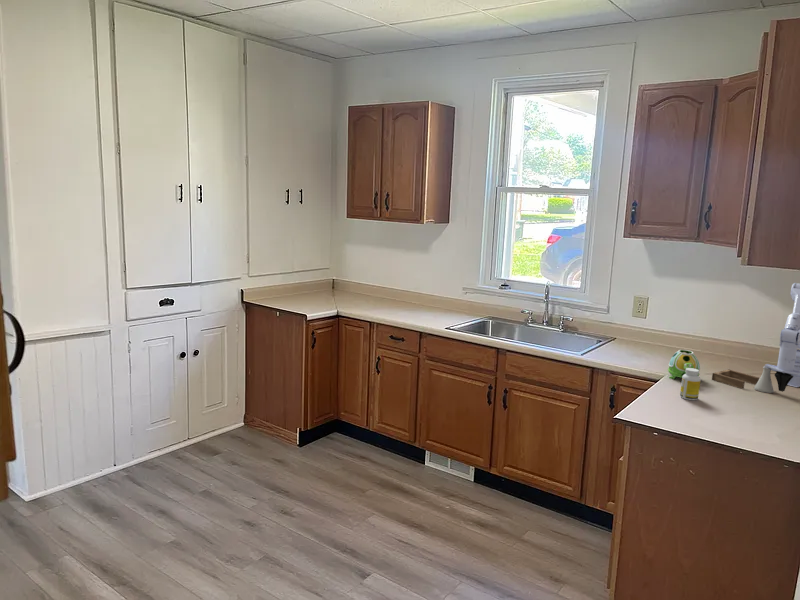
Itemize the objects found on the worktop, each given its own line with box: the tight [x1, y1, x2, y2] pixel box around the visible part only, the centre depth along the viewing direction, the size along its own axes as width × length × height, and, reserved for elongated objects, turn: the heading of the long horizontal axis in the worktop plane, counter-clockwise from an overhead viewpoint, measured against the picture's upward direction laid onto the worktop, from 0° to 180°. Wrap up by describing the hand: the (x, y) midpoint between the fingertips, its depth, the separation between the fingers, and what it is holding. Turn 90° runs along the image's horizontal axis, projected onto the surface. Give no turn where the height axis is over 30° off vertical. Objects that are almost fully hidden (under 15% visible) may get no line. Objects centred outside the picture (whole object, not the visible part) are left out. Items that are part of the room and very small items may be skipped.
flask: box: [753, 365, 775, 394], centre depth 244 cm, size 7×7×10 cm
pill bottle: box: [679, 368, 701, 401], centre depth 231 cm, size 6×6×12 cm
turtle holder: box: [667, 349, 701, 380], centre depth 255 cm, size 12×18×12 cm
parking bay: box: [711, 368, 760, 390], centre depth 255 cm, size 13×13×3 cm
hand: (781, 390), depth 240 cm, fingers closed
